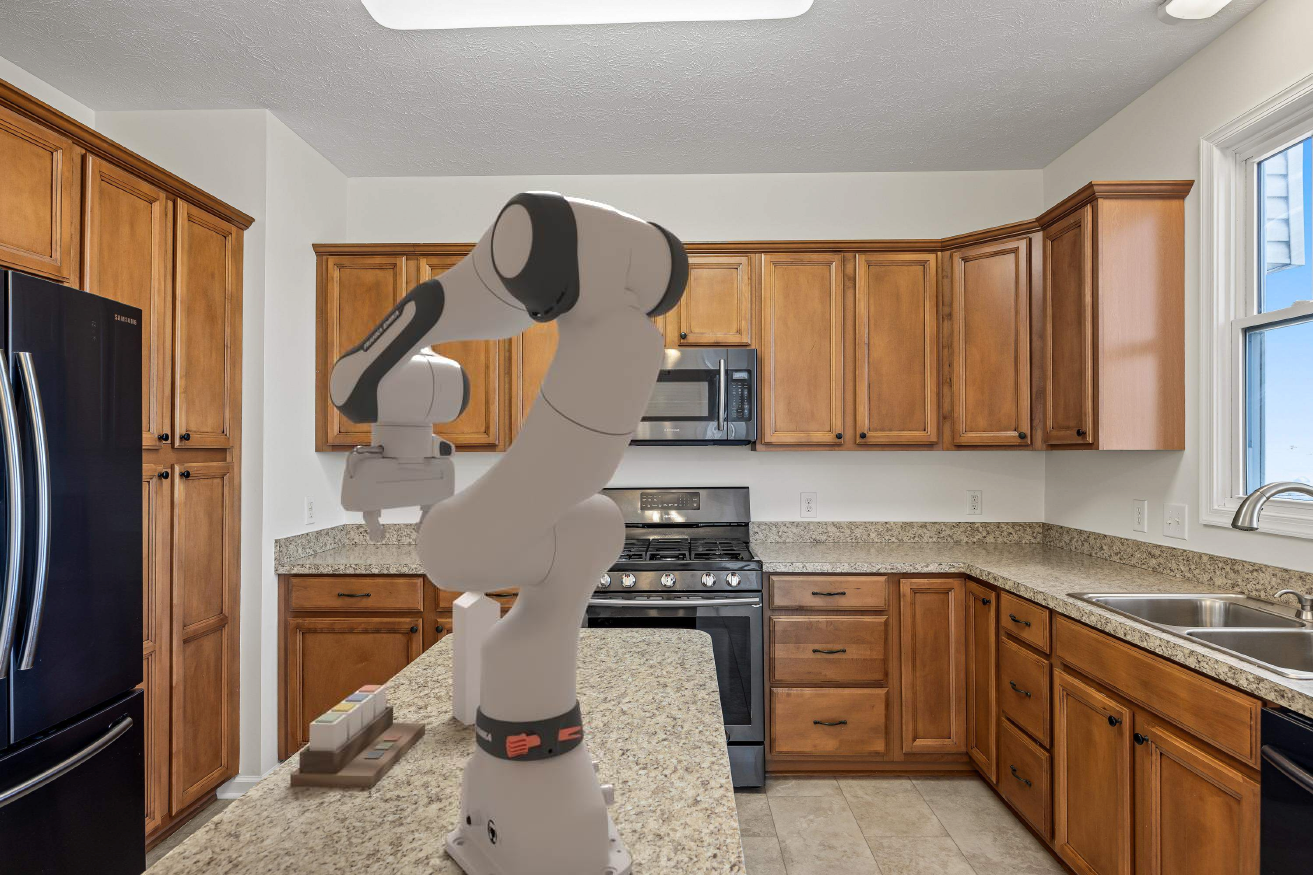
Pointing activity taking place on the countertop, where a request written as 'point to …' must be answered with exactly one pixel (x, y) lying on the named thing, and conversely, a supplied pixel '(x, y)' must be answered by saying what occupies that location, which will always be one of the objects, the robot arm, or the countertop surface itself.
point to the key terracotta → (375, 697)
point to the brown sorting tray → (359, 755)
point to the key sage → (328, 732)
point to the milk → (469, 651)
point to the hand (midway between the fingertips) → (401, 537)
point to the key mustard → (349, 717)
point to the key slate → (363, 707)
